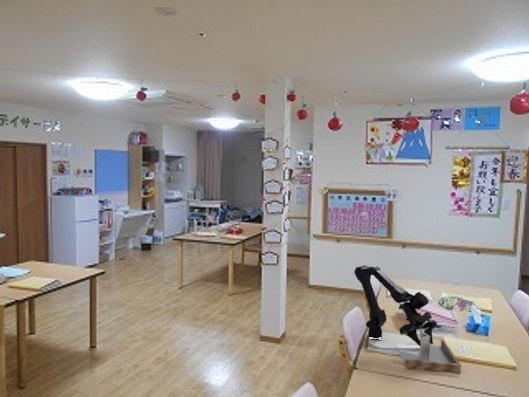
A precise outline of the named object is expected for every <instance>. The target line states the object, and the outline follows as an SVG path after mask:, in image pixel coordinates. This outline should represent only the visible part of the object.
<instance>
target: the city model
mask: <svg viewBox="0 0 529 397" xmlns="http://www.w3.org/2000/svg"><path fill="white" fill-rule="evenodd" d="M438 301H439V304H440V305H441V306H442V307H444V308H445V309H446V310H449V311H458V312H465V313H470V312H469V311H470V308H471V306H472V305H474V306H476V307H477V308H478V306H479V305H478V304H477V303H476V302H474V301H473V300H471V299H469V298H468V297H467V298H466V297H464V296H459V295H447V296H442V297H440V298H439V300H438Z"/></svg>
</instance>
